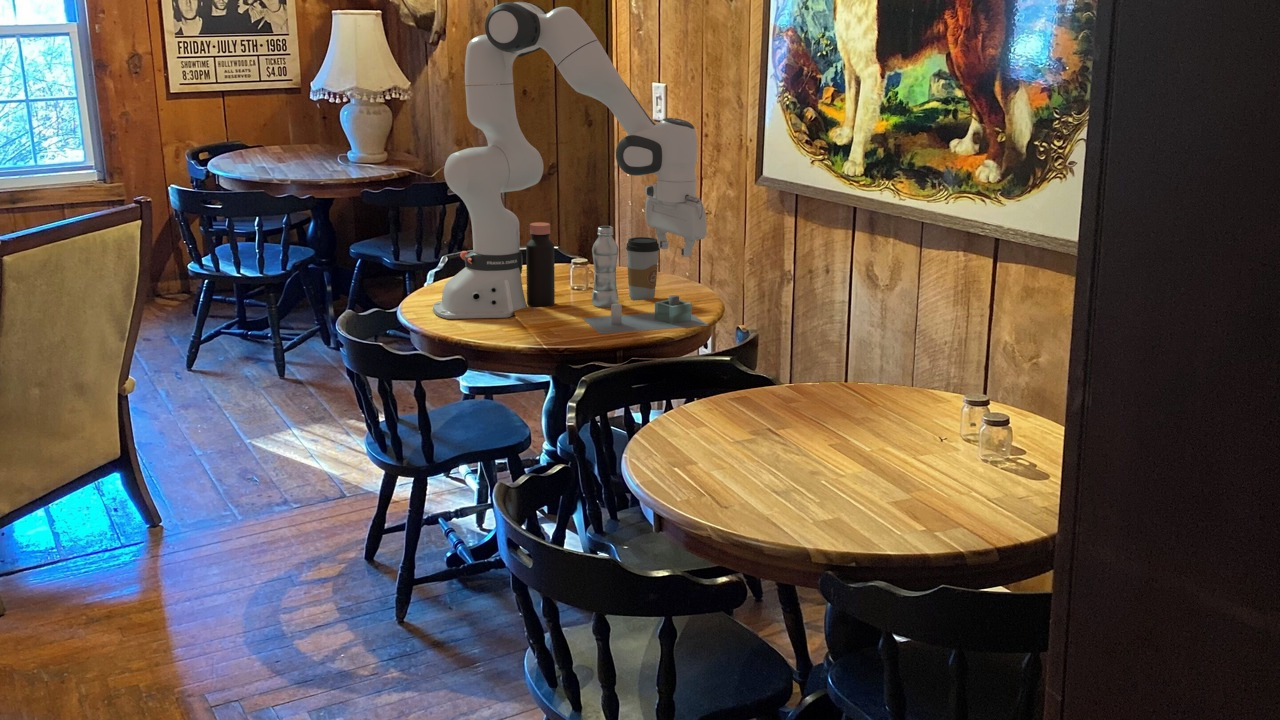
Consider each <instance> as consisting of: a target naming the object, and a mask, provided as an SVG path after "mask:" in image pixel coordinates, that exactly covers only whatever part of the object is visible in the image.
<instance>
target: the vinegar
mask: <svg viewBox="0 0 1280 720" xmlns="http://www.w3.org/2000/svg"><path fill="white" fill-rule="evenodd" d="M529 234H530V235H529V236H530V237H531V238H530V240H529V241H528V242H527V243H526V245H525V246H526V249H525V252H526V253H525V255H526V257H525V258H526V260H525V261H526V304H527V306H529V307H531V308H545V307H546V308H547V307H552V306H554V305H555V299H556V298H555V295H556V294H555V293H556V292H555V285H556V284H555V244H554V242H553V241H552V240H551V239H550V236H551V223H549V222H543V221H542V222H532V223H529Z"/></svg>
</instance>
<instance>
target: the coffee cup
mask: <svg viewBox="0 0 1280 720" xmlns="http://www.w3.org/2000/svg"><path fill="white" fill-rule="evenodd" d="M625 247H626V248H625V249H626V254H627V255H626V259H627V281H628V293H629V294H628V295H629V297H630V300H632V301H647V300H649V301H650V300H654V298H655V296H656V286H657V279H658V277H657V276H658V266H659V265H658V262H659V261H658V260H659V251H660V248H659V241H658V238H653V237H647V236H645V237H644V236H640V237H639V236H638V237H631V238H628V239H627V243H626V246H625Z"/></svg>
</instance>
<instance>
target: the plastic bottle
mask: <svg viewBox="0 0 1280 720" xmlns="http://www.w3.org/2000/svg"><path fill="white" fill-rule="evenodd" d="M597 235H598V236H597V238H596V239H595V242H593V245H592V248H591V252H592V259H593V271H594V273H593V274H594V279H593V289H592V294H591V301H592V305H593V306H594V307H595V308H596V307H597V308H602V309H603V308H605V309H606V308H611V304H619V303H618V302H619V293H618V287H617V264H618V256H619V246H618V244H617V242H616V240H615V239H614V238H613V236H614V227H613V226H611V225H600V226H598V227H597Z"/></svg>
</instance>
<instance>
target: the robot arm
mask: <svg viewBox="0 0 1280 720" xmlns="http://www.w3.org/2000/svg"><path fill="white" fill-rule="evenodd" d="M484 21H485V22H484V32H485V34H481V35H477V36H475V37H473V38H472V39H471V40H469V42H468V43H467V46H466V51H465V60H464V86H465V102H466V114H467V115H466V117H467V118H468V121H469V123H470V124H471V125H472V126H474V127H475V128H477V129H479V130H481V131H482V134H483V135H484V136H485V138H486V141H487V146H477V147H467V148H465V149H462V150H459V151H457V152H453V153H451V154H449V156H448V157H447V159H446V161H445V165H444V170H443V174H444V175H443V176H444V179H445V183H446V184H447V187H448V188H449V189H450V190H451V191H452V192H453V193H454V194H455V195H457V196H458V197H459V198H460V200H462V201H463V203H464V205H465V206H466V209H467V211H468V214H469V217H470V221H471V231H472V248H473V249H472V250H471V251H470V252H469V253H468V251H466V250H462V251H461V252H460V255H459V256H460V258H461V259H462V260H463V261H464V263H465V264H464V265H465V267H464V268H462V269H461V270H460V271H459V272H458V273H456V274H455V275H454V276H453V277H451V278H450V279H449V280H447V282H445V284H444V286H443V289H442V297H441V300H440V301H437V302H435V303H434V304H432V305H433V306H432V311H433V312H434V314H435V315H436V316H438V317H440V318H443V319H447V320H450V319H451V320H452V319H453V320H455V319H456V320H457V319H459V320H460V319H496V318H499V319H502V318H506V319H507V318H510V317H512V316H514V315H515V311H519V310H521V309H528V304H527V300H526V297H525V294H524V288H523V281H522V271H523V254H522V250H520V245H521V244H520V241H521V240H520V221H519V218H518V216H517V215H516V214H515V212H513V211H511V210H509V209H507V208H506V207H505V206H504V204H503V201H502V195H501V193H507V192H516V191H517V192H518V191H523V190H525V189H528V188H530V187H533V186H535V185H537V184H539V182H540V181H541V179H542V176H543V174H544V161H543V158H542V156H541V153H540V152H539V150H538V149H537V148H536V147H534V146H533V145H532V144H531V143H530V142H529V141H528V140H527V139H526V137H525V135H524V133H523V132H522V129H521V127H520V125H519V121H518V117H517V112H516V111H517V110H516V102H515V101H516V100H515V90H514V74H513V71H514V70H513V66H514V62H515V60H516V58H517V57H518V58H521V57H524V56H526V55H529V54H532V53H536V52H537V51H539V50H541V49H542V50H544V51H545V52H546V53H547V54H548V55H549V56H550V58H551V59H552V61H553V64H554V65H555V66H556V68H557V70H558V71H559V73H560V74H561V76H562V77H563V79H564V80H565V82H567V84H568V85H569V86H570V87H571V88H572V89H574V91H575V92H576V93H579V94H581V95H584V96H586V97H590V98H593V99H595V100H597V101H599V102H600V103H602V104H604V105H605V106H606V107H607V108H608V109H609V110H610V111H611V113H612V114H613V115H614V117H615V118H616V120H617V121H618V123H619V124H620V125H621V127H622V128H623V131H625V133H626V134H627V136H626V135H625V137H623V138H622V139H620V141H619V142H618V144H617V146H616V149H615V160H616V163H617V165H618V167H619V169H621V170H622V171H623V172H624V173H625V174H626V175H629V176H633V177H641V176H642V177H643V176H646V175H649V174H655V175H656V182H655V183H652V184H650V185H647V186H645V189H644V194H645V196H646V199H645V207H644V208H645V212H644V214H645V215H644V216H645V223H646V225H647V226H648V227H649V228H653V229H655V234H656V237H657V238H656V239H657V241H658V244H659V250H668V249H669V247H670V246H669V240H668V239H667V236H666V234H667V233H669V234H672V235H675V236H679V237H682V238H684V239H683V242H684V246H683V247H682V248H681V256H682V257H684V258H689V257H692V254H693V252H692V250H693V247H694V246H695V244H696V241H698V240H699V241H700V240H704V239H705V238H706V236H707V234H708V233H707V232H708V231H707V214H706V208H705V207H704V203H702V201H701V199H700V197H697V175H696V164H697V162H698V139H697V131H696V128H695V126H694V125H693V124H692V123H691V122H689V121H687V120H684V119H681V118H680V119H679V118H676V117H675V118H673V117H665V118H662V119H661V120H660V121H659V122H658V123H655V122H654V121H653V120H652V119H651V118H650V116H649V114H648V113H647V112H646V111H645V109H644V108H643V106H642V105H641V103H640V102H639V100H638V99H637V98H636V96H635V95H634V93H633V92H632V91H631V89H630V88H629V87H628V85H627V84H626V82H625V81H624V80H623V78H622V76H621V75H620V74H619V72H618V70H617V69H616V67H615V66H614V64H613V62H612V60H611V58H610V57H609V56H608V54H607V52H606V50H605V48H604V47H603V45H602V44H601V42H600V41H599V39H598V38H597V36H596V34H595V33H594V32H593V30H592V29H591V27H590V26H589V25H588V24H587V22H586V21H585V20H584V19H583V18H582V16H580V15H579V13H578V12H577V11H576V10H575V9H573V8H572V7H569V6H559V7H556V8H553V9H552V10H550V11H549V12H547V11H546V10H545V9H544V8H542V6H539V5H537V4H534V3H528V2H525V1H514V2H502V3H499V4H498V5H495V6H494V7H493V8H492V9H491V10H489V12H488V14H487V16H486V18H485V20H484Z"/></svg>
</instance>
